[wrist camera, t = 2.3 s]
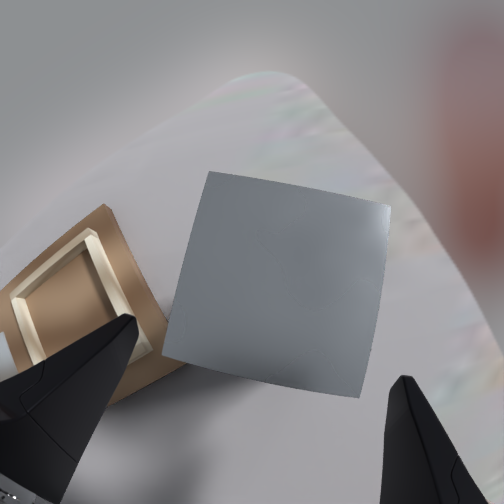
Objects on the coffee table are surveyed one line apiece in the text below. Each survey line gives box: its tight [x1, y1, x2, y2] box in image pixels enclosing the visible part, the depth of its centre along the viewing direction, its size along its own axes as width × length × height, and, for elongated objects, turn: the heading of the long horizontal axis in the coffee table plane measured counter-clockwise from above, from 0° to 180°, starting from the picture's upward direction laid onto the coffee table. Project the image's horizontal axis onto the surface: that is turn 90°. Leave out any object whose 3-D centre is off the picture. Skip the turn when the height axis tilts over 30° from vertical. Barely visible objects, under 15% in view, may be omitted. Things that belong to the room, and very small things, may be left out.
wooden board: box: [0, 204, 186, 407], centre depth 19 cm, size 13×24×2 cm, turn 122°
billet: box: [162, 171, 391, 398], centre depth 13 cm, size 5×5×13 cm
